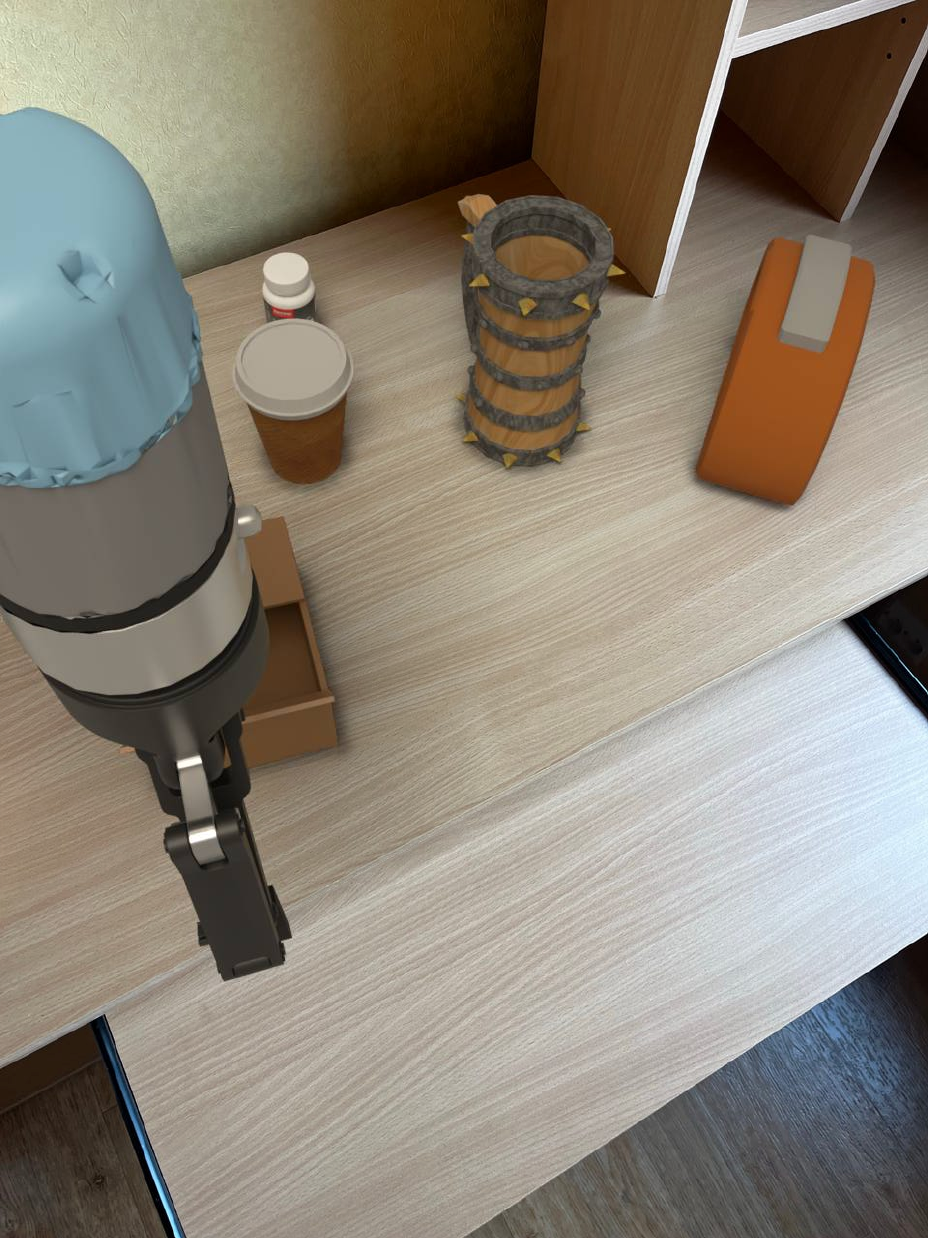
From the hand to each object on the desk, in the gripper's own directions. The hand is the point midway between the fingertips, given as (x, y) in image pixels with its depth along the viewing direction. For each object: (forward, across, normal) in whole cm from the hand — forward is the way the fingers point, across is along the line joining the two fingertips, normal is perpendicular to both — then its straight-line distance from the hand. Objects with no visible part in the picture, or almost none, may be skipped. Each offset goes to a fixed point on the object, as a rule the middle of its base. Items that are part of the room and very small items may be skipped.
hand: (239, 824), depth 53 cm
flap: (+10, +11, 0) cm, 14 cm away
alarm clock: (+22, +34, -51) cm, 66 cm away
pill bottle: (+22, +54, -12) cm, 60 cm away
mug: (+22, +41, -29) cm, 55 cm away
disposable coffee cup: (+22, +40, -10) cm, 47 cm away
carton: (+22, +20, 0) cm, 30 cm away
